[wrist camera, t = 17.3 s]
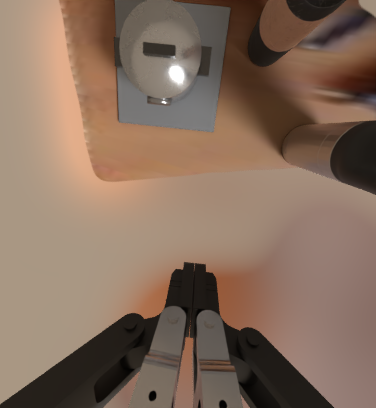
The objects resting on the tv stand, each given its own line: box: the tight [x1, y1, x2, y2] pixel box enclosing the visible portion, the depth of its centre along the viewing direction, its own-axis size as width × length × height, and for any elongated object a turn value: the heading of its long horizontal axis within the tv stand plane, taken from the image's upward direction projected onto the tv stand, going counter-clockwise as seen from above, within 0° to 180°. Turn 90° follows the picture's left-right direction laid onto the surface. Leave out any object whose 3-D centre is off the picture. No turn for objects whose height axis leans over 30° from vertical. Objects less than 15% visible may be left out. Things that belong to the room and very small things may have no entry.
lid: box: [119, 0, 202, 106], centre depth 30 cm, size 13×14×2 cm
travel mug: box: [248, 0, 346, 67], centre depth 28 cm, size 8×8×20 cm
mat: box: [115, 0, 231, 132], centre depth 40 cm, size 22×22×1 cm
